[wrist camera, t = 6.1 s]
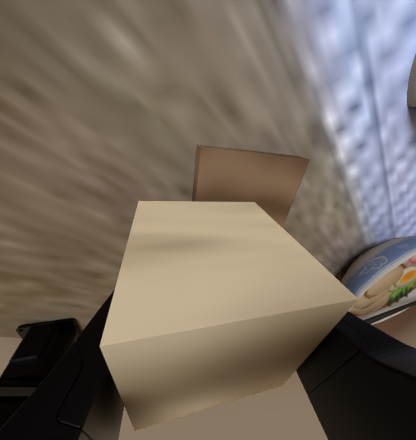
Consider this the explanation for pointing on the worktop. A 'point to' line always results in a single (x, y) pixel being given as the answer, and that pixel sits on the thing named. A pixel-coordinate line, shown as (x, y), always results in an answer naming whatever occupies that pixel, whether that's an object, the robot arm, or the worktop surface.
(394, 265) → the ramen bowl
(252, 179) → the walnut board
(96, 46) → the worktop surface
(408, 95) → the dog bowl
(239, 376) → the maple cube
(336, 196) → the worktop surface
